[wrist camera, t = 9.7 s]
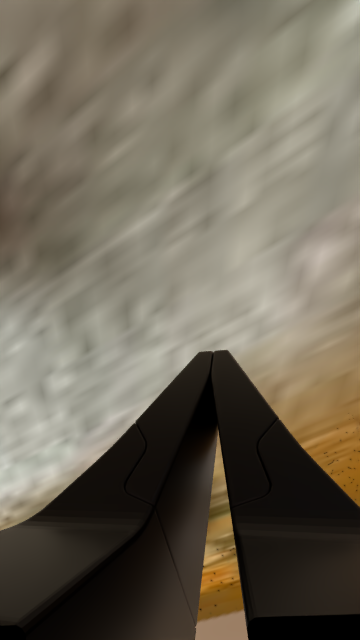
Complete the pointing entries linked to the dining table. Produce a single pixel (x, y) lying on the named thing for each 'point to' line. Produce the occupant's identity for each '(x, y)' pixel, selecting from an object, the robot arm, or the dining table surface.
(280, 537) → the robot arm
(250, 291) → the dining table surface
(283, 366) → the dining table surface
